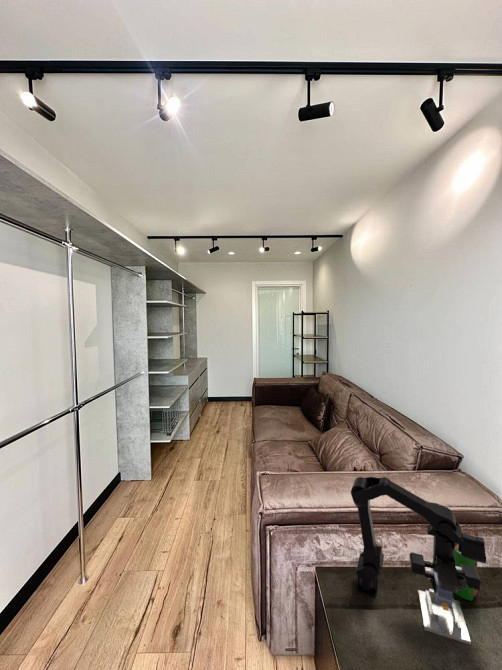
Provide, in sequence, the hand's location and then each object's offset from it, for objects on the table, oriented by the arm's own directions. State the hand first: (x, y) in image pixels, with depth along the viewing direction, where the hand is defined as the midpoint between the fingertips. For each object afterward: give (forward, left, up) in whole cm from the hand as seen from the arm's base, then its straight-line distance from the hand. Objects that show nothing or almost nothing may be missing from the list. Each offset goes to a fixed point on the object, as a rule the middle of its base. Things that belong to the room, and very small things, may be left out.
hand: (442, 593), depth 97 cm
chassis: (0, 0, -8) cm, 8 cm away
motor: (+9, +14, -8) cm, 18 cm away
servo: (0, 0, -1) cm, 1 cm away
